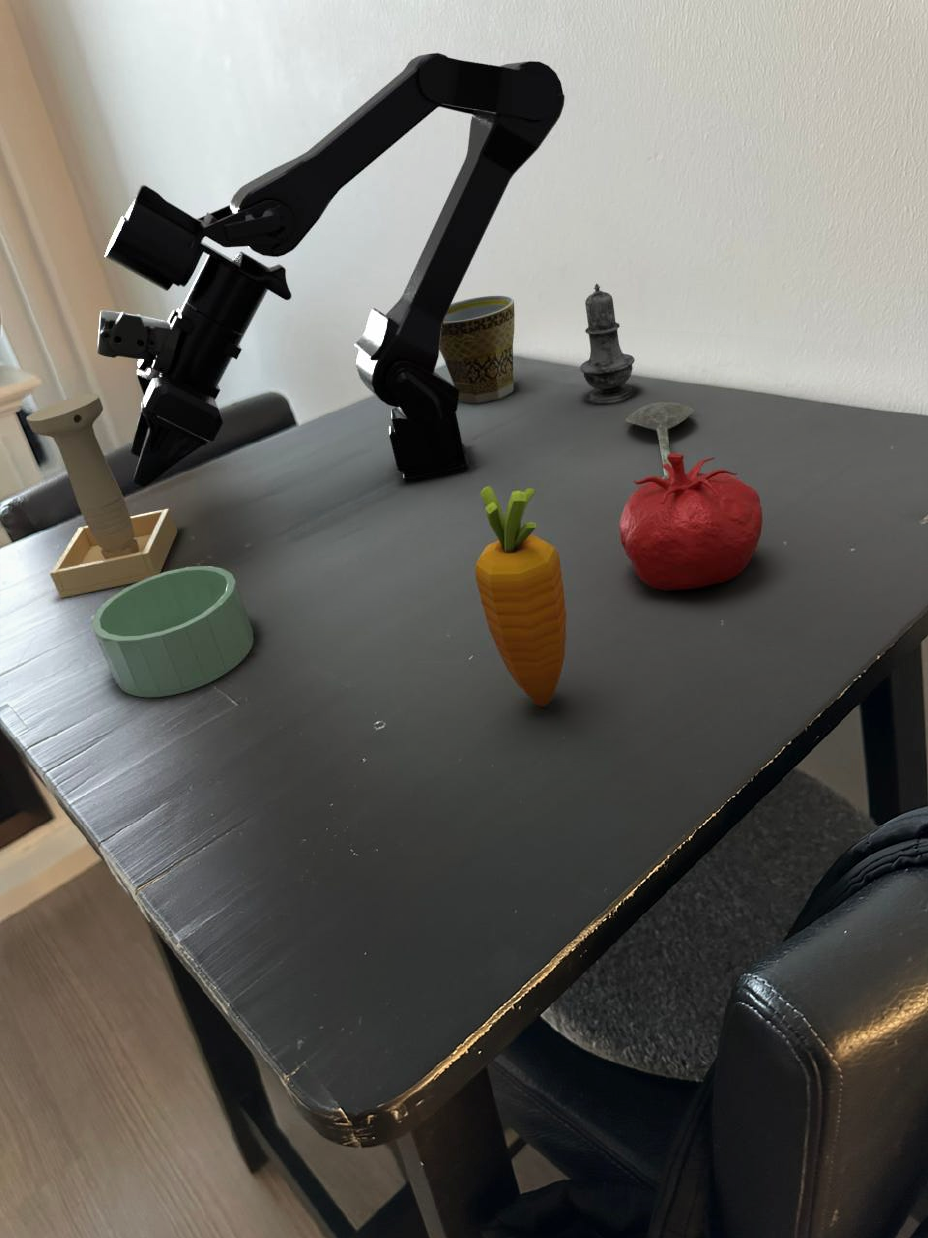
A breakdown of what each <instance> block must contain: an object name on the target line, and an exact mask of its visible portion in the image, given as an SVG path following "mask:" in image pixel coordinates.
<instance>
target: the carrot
mask: <svg viewBox="0 0 928 1238" xmlns="http://www.w3.org/2000/svg"><path fill="white" fill-rule="evenodd" d="M535 492H536V489H534V488H533V487H532V488H531V487H527V489H526V490H524V491H522V490H515V491H511V495H510V497H509V500H508V504H507V508H506V512H505V517H504V513H503V511H502V508H501V505H500V501H499V499H498V497H497V495H496V493H495V491H494V489H493V488H492V487H491V485H488V486H487V485H486V486H485V487H483V489H482V490H481V491H480V492H479V493H480V496H481V498H482V501H483V502H484V504H485V506H486V507H485V514H486V517H487V520H488V523H489V526H490V527H491V529H492V531H493V533H494V534H495V536H496V537H497V540H496V541H493V542H492V543H489V544H487V545H486V547H485V548H484V550H483V551H482V553H481V555H480V556H479V558H478V559H477V561H476V563H475V565H474V574H475V575H474V576H475V580H476V584H477V589H478V592H479V596H480V600H481V604H482V608H483V612H484V615H485V618H486V622H487V626H488V629H489V632H490V634H491V637H492V639H493V642H494V644H495V647H496V649H497V651H498V653H499V655H500V657H501V659H502V661H503V664H504V665H505V668H506V670H507V671H508V673H509V674H510V675H511V677H512V679H513V680H514V681H515V682H516V684H517V685H518V687H519V688H520V689H521V690H522V691H523V692H524V694H526V695H527V697H528V698H529V699H530V700H531V701H532V703H534V704H535V705H537V706H539V707H542V708H545V707H547V706H548V705H549V704H550V703H551V702H552V699H553V698H554V697H553V696H554V694H555V692H556V688H557V686H558V683H559V681H560V677H561V673H562V670H563V664H564V661H565V655H566V654H565V652H566V640H567V639H566V637H567V611H566V610H567V609H566V600H565V590H564V589H565V588H564V582H563V575H562V568H561V561H560V556H559V552H558V551H557V548H556V547H555V546H553V545H551V544H550V543H549V542H547V541H545V540H543V539H542V538H541V537H538V536H536V535H535V534H532V533H533V532H534V531H535V530H536V528H537V523H535V522H534V521H533V522H532V521H529V522H525V523H524V524H523V525H522V519H523V516H524V513H525V511H526V508H527V506H528V503H529V502H530V500H531V499H532V498H533V496H534V494H535Z"/></svg>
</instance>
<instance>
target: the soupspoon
mask: <svg viewBox="0 0 928 1238" xmlns="http://www.w3.org/2000/svg"><path fill="white" fill-rule="evenodd" d="M694 413H695V409H694V408H692V407H690V406H688V405H686V404H683V403H680V402H673V401H659V402H653V403H650V404H645V405H644V406H642V407H640V408H638V409H636V410H634V411H633V412H632V413H631V414H630V415H628V416H627V418H626V419H625V421H626V422H628V423H630V424H632V425H636V426H639V427H642V428H645V429H649V430H651V431H656V434H657V438H658V443H659V444H658V445H659V450H660V454H661V460H662V465H663V464H666V463H668V464H669V465H670V466H671V464H670V462H669V461H668V459H667V455H668V454H671V450H670V443H669V430H670V429H672V428H674V427H677V426H678V425H679V424H680V423H682V422H684V421H685V420H687V419H688V418H689V417H691V416H693V414H694ZM671 468H672V466H671ZM662 469H663V475H664V476H663V477H662V479H666V478H669V475H668V473H667V471H666V469H665V468H664V467H663V466H662ZM672 469H673V468H672Z"/></svg>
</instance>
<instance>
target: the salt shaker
mask: <svg viewBox="0 0 928 1238" xmlns="http://www.w3.org/2000/svg"><path fill="white" fill-rule="evenodd" d="M593 289H594V292H593V293H591V294H590V295H588V297H586V298H585V301H584V303H585V304H584V306H585V311H586V320H587V328H585V330H584V332H585V333H586V334H587V335H588V339H589V347H590V354H589V359H587V360H585V361H584V362H582V363H581V365H580V366H579V371H581V372H582V373H583V378H584V379H585V381H586V382H587V384H588V385H590V386H591V388H593V390H591V391H590V392H589V393H588V395H587V396H586V400H587V401H588V402H589V403H592V404H596V405H605V404H606V405H607V404H608V405H609V404H614V403H619V402H622V401H625V400H628V399H630V398H632V397H633V396H634V395H635V394H636V392H637V391H636V388H635V387H634V386H631V385H630V384H627V382H628V381H629V380H630V378H631V376H632V372H633V364H634V363H635V361H636V359H635V357H634V356H633V355H631V354H628V353H624V352H623V351H622V348H621V346H620V341H619V333H618V329H619V328H620V327H621V325H620V323H619V322H616V317H615V316H616V315H615V308H614V307H615V306H614V299H613V296H612V295H611V294H610V293H609V292H605V291H603V290H601V286H600V285H599V284H598V283H595V285H594V287H593Z"/></svg>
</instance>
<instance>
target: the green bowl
mask: <svg viewBox="0 0 928 1238" xmlns="http://www.w3.org/2000/svg"><path fill="white" fill-rule="evenodd" d="M245 607H246V606H245V605H244V602H243V599H242V595H241V593H240V590H239V588H238V584H237V582H236V579H235V577H234V575H233V573H231V572H229V571H228V570H226V569H224V568H222V567H217V566H209V565H200V566H199V565H198V566H187V567H182V568H178V569H172V570H168V571H164V572H160V574H158V575H155V576H152V577H149V578H146V579H144V580H142V581H140V582H135V583H132V584H131V585H129V586H127V587H126V588H124V589H122V590H121V591H119V592H118V593H116V594H115V595H113V596H111V597H110V598H108V600H106V602H104V603H103V604H102V605H101V606H100V607H99V609H97V610H96V612H95V615H94V616H93V619H92V620H91V624H92V631H93V633H94V636H95V638H96V641H97V642H98V645H99V647H100V650H101V651H102V654H103V656H104V658H105V660H106V663H107V665H108V668H109V670H110V672H111V675H112V677H113V679H114V681H115V682H116V684H117V685H118V687H119V688H120V690H121V691H123V692H124V693H126V694H128V695H130V696H133V697H139V698H162V697H169V696H173V695H174V696H175V695H179V694H183V693H185V692H189V691H193V690H195V689H198V688H201V687H203V686H205V685H207V684H210V683H212V682H213V681H216V680H219V678H221V677H223V676H225V675H226V674H228V673H229V672H231V671H232V670H233V669H235V668H236V667H237V666H238V665H239V664H240V663H242V661H243V660H244V659H245V658H246V657H247V656H248V654H249V653H250V651H251V650H252V648H253V645H254V642H255V635H254V630H253V628H252V625H251V621H250V619H249V616H248V613H247V610H246V608H245Z"/></svg>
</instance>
